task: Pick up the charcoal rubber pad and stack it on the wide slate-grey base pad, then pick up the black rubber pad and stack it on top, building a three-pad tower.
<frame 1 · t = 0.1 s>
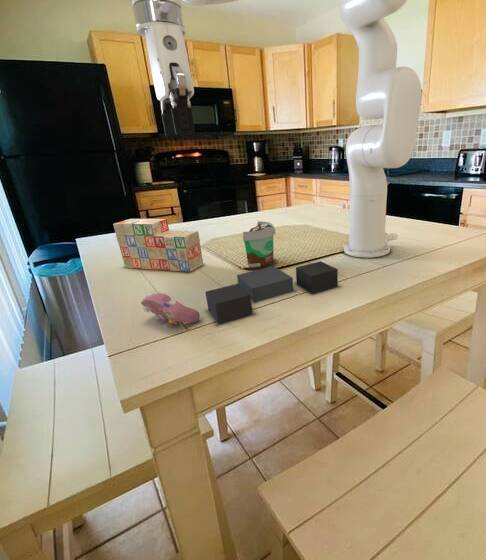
hand: (179, 135, 61), 31 cm above the table, tool pointing down, fingers open, 9 cm apart
black pad: (230, 312, 63), on the table
stack of blocks: (164, 266, 91), on the table
food container: (266, 264, 88), on the table
charcoal pad: (316, 285, 73), on the table
pink toy car: (172, 322, 61), on the table
base pad: (265, 289, 72), on the table
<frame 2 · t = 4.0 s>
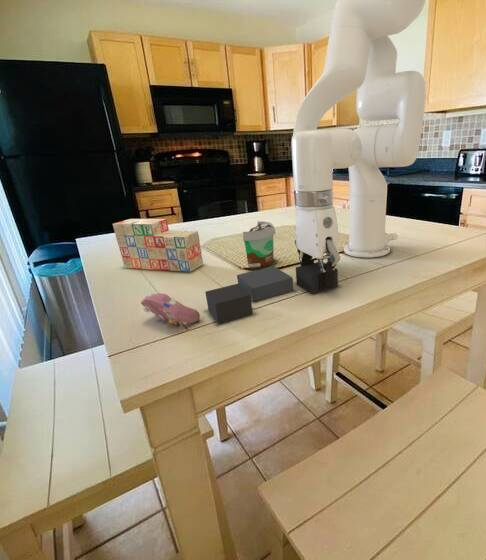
hand: (316, 282, 72), 1 cm above the table, tool pointing down, fingers closed on charcoal pad, 6 cm apart
charcoal pad: (316, 285, 73), on the table, touching gripper
everything else where it was.
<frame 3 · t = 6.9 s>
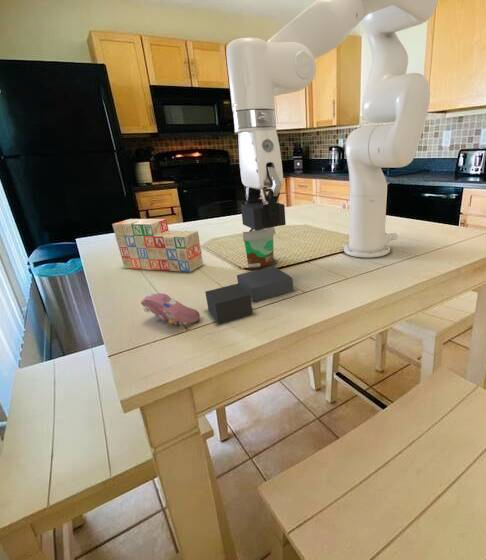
hand: (263, 221, 67), 15 cm above the table, tool pointing down, fingers closed on charcoal pad, 6 cm apart
charcoal pad: (263, 224, 67), point 14 cm above the table, touching gripper
everything else where it was.
when the fingers open (4 cm above the table, at t = 9.9 s): charcoal pad stays where it is, resting on base pad.
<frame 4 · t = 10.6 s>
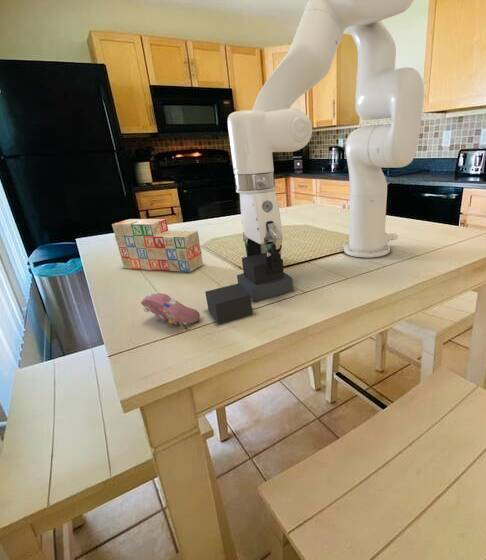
hand: (264, 266, 71), 5 cm above the table, tool pointing down, fingers open, 9 cm apart
charcoal pad: (263, 276, 71), point 3 cm above the table, touching base pad
everything else where it was.
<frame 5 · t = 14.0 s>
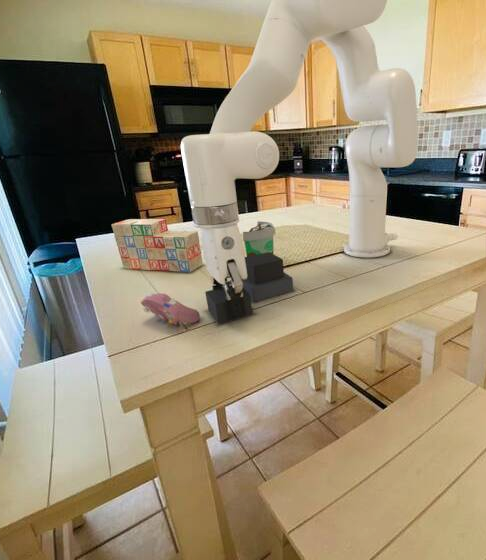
hand: (229, 309, 63), 1 cm above the table, tool pointing down, fingers closed on black pad, 6 cm apart
black pad: (230, 312, 63), on the table, touching gripper
everything else where it was.
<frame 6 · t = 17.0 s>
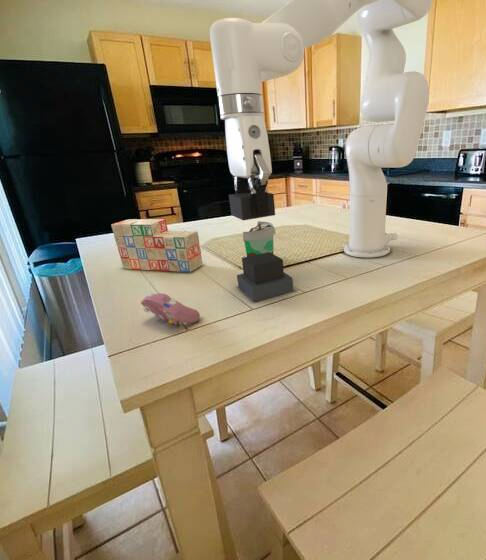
hand: (252, 211, 65), 17 cm above the table, tool pointing down, fingers closed on black pad, 6 cm apart
black pad: (252, 215, 65), point 16 cm above the table, touching gripper
everything else where it was.
when the fingers open (8 cm above the table, at t = 19.8 s): black pad stays where it is, resting on charcoal pad.
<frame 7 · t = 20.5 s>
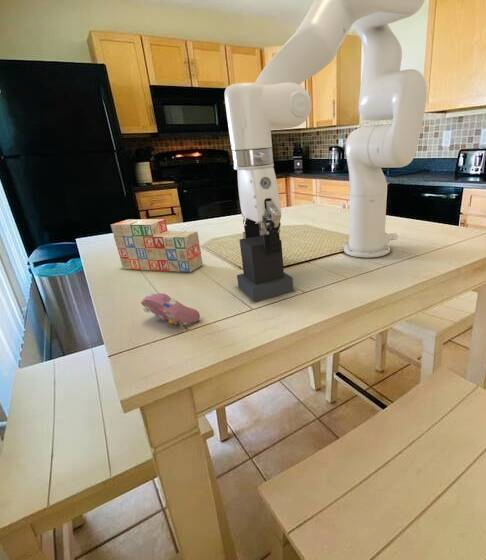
hand: (262, 247, 69), 9 cm above the table, tool pointing down, fingers open, 9 cm apart
black pad: (261, 258, 70), point 7 cm above the table, touching charcoal pad
charcoal pad: (263, 276, 71), point 3 cm above the table, touching base pad, black pad
everything else where it was.
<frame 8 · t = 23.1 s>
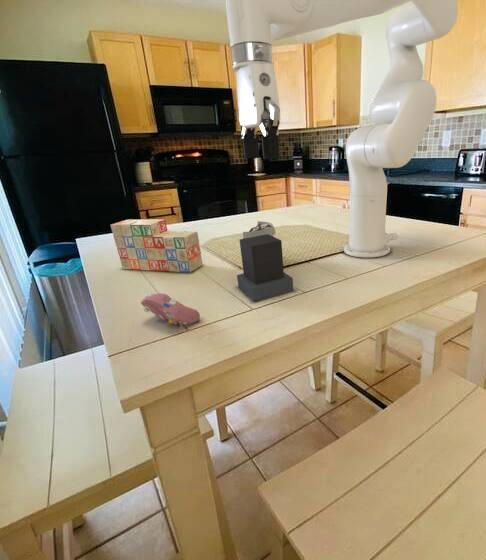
hand: (261, 158, 68), 26 cm above the table, tool pointing down, fingers open, 9 cm apart
nothing on the table moved.
at the end: charcoal pad 0.1 cm off-centre on the base pad, point 3.0 cm above the base pad's base; black pad 0.1 cm off-centre on the base pad, point 7.0 cm above the base pad's base; black pad tilted 0° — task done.
